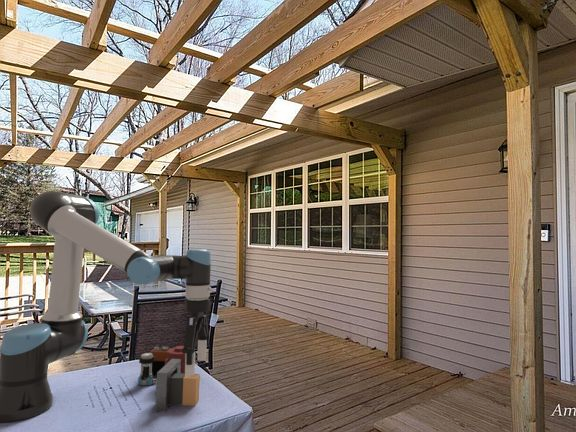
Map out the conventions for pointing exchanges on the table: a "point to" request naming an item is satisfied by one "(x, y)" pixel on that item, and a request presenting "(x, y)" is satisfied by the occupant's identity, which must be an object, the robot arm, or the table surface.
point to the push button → (146, 369)
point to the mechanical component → (177, 356)
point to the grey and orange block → (184, 389)
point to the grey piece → (165, 384)
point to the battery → (159, 358)
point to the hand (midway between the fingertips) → (196, 367)
